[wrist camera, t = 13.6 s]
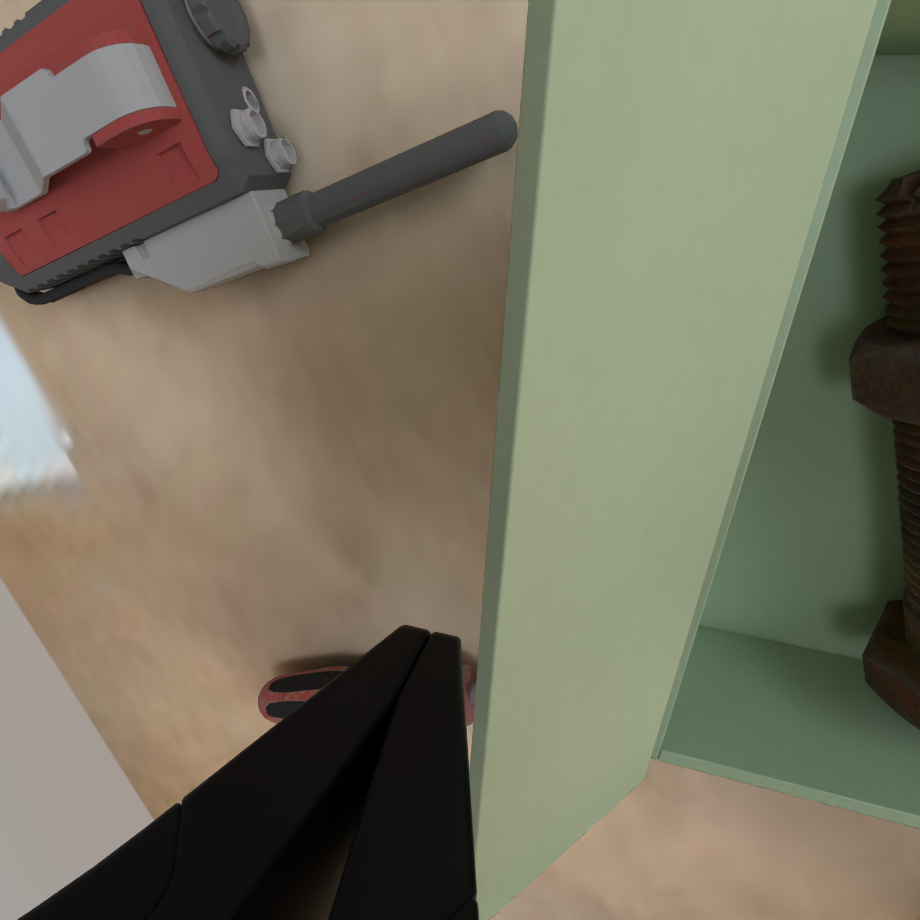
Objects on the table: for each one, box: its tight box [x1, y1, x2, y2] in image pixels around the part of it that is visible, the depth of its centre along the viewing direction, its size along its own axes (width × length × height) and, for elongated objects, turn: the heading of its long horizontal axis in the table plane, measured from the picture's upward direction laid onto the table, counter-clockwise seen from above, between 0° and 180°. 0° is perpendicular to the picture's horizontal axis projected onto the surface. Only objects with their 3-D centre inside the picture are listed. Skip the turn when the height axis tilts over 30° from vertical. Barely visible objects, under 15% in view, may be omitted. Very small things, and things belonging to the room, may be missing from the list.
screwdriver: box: [258, 664, 477, 725], centre depth 25 cm, size 25×3×3 cm, turn 109°
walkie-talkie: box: [0, 0, 517, 305], centre depth 18 cm, size 9×4×20 cm
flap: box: [469, 0, 877, 920], centre depth 11 cm, size 19×7×1 cm
